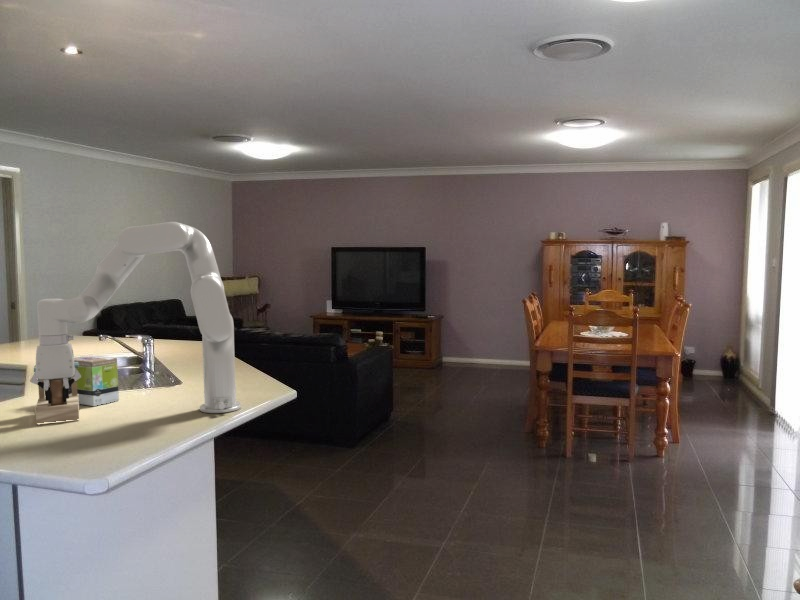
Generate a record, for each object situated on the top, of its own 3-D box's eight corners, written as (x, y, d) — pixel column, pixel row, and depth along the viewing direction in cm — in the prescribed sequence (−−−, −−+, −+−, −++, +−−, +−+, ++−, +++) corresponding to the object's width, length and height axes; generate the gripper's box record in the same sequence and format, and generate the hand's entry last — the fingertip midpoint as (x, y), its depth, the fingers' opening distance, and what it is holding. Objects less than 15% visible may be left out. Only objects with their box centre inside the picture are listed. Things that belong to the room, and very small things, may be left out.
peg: (65, 410, 199) (63, 377, 198) (64, 412, 196) (62, 379, 195) (51, 411, 197) (49, 378, 197) (51, 414, 194) (49, 380, 193)
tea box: (120, 400, 221) (118, 357, 220) (93, 407, 213) (90, 361, 211) (92, 396, 229) (89, 354, 228) (64, 402, 220) (62, 358, 219)
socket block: (80, 420, 196) (77, 369, 195) (34, 425, 191) (31, 373, 189) (80, 409, 210) (78, 361, 209) (37, 413, 205) (34, 365, 204)
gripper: (84, 337, 202) (88, 396, 203) (22, 341, 195) (26, 402, 196) (84, 339, 195) (88, 401, 197) (20, 344, 188) (24, 408, 189)
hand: (57, 401), depth 196 cm, fingers closed on peg, 3 cm apart
